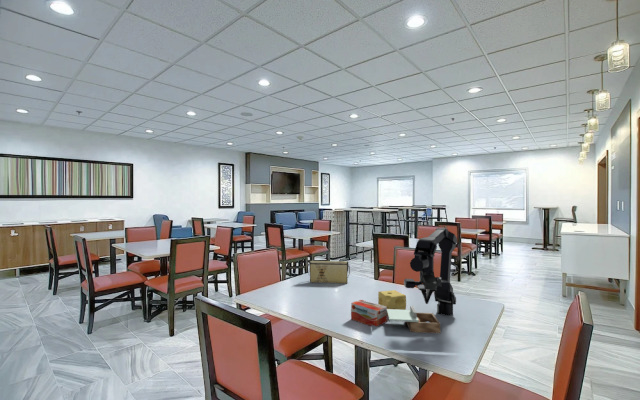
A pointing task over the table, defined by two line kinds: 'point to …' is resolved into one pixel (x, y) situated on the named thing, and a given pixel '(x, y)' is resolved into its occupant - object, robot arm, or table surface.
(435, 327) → the walnut box
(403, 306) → the cheese
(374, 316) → the medicine box
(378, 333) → the table surface
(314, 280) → the clutch purse
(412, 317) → the lid
